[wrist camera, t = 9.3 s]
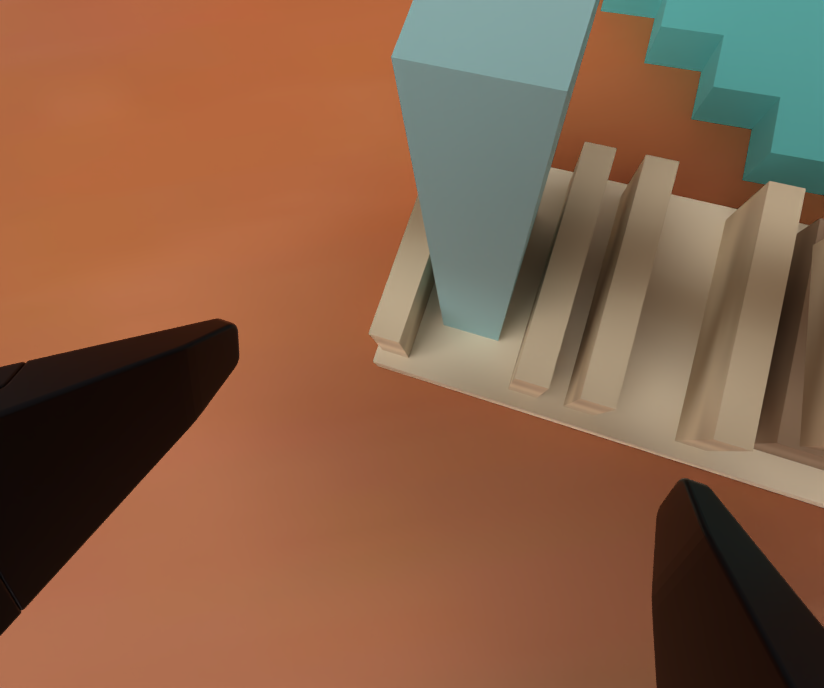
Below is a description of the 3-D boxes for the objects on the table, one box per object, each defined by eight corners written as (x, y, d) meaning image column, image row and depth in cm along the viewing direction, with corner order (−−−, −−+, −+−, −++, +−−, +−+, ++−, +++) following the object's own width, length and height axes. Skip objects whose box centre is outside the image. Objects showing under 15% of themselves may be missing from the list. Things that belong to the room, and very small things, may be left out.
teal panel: (497, 340, 17) (567, 91, 5) (443, 324, 17) (391, 57, 5) (536, 214, 18) (672, -250, 6) (484, 201, 18) (514, -261, 6)
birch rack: (913, 536, 15) (1045, 562, 11) (378, 366, 18) (356, 346, 15) (950, 274, 16) (1075, 229, 13) (450, 159, 20) (446, 98, 16)
